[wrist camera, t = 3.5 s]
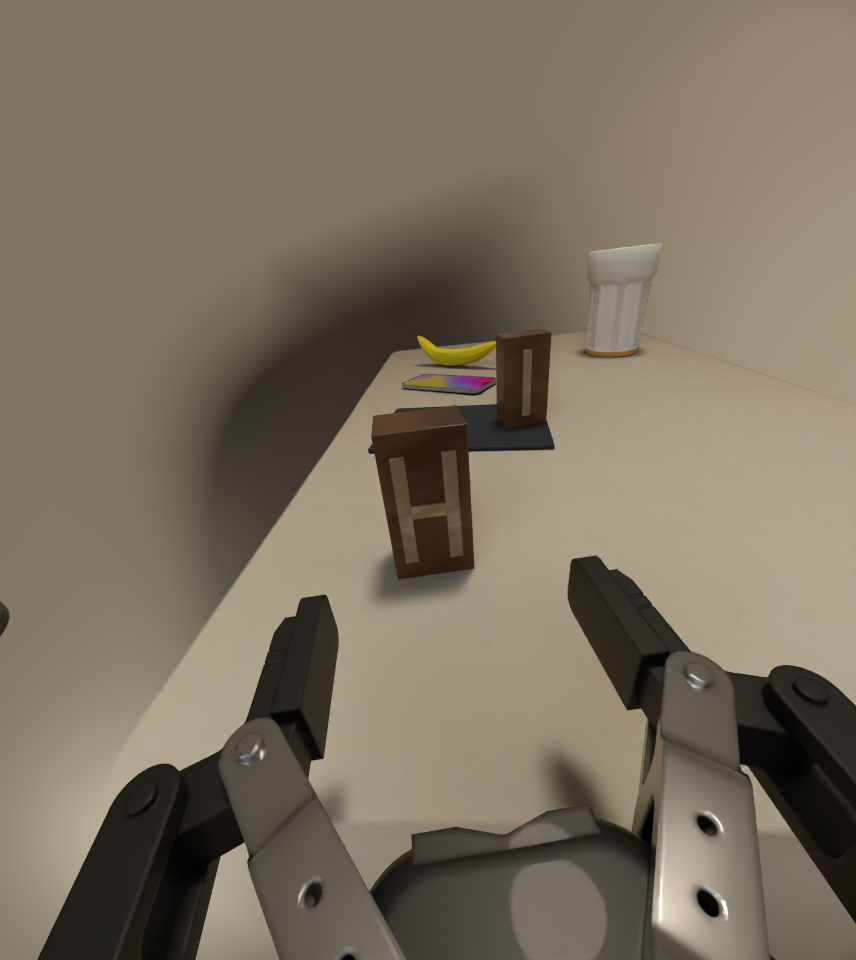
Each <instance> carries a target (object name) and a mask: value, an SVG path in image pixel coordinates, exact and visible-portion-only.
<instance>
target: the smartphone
mask: <svg viewBox="0 0 856 960" xmlns="http://www.w3.org/2000/svg"><path fill="white" fill-rule="evenodd" d="M494 383H496V378H494V377H475V376H456V375H436V374H423V375H420V376H417V377H415V378H413V379H411V380H409V381H406V382H404V383H402V387H403V388H408V389H421V390H433V391H446V392H459V393H472V394H474V393H480V392H482V391H483V390H485V389H486V388H488V387H490V386H491V385H493V384H494Z"/></svg>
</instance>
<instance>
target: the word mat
mask: <svg viewBox="0 0 856 960" xmlns="http://www.w3.org/2000/svg"><path fill="white" fill-rule="evenodd" d="M457 407H458V409H459V410H460V412H461V414H462V416H463V418H464V419H465V421H466V423H467V433H468V451H484V450H532V449H554V447H555V446H554V442H553V439H552V436H551V433H550V430H549V426H548V423H547V420H546V424H539V425H531V426H524V427H516V428H508V429H504V428H503V427H502V426H501V424H500V423H499V422H498V421H497V404H492V405H470V406H457ZM431 408H439V407H424V408H401V409H397V410H396V411H395V412H394V413H399V412H407V411H415V410H423V409H431ZM368 452H369V453H374V448H373V444H372V445H371V447H370V448H369V449H368Z"/></svg>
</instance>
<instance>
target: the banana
mask: <svg viewBox="0 0 856 960" xmlns="http://www.w3.org/2000/svg"><path fill="white" fill-rule="evenodd" d="M415 336H417V338H418V341H419V344H420V346H421V348H422V349H423V351H424V352H425V354H426V355H427V356H428V357H429V358H430V359H431V360H433V361H435V362H436V363H439V364H442V365H445V366H460V365H465V364H469V363H472V362H476V361H478V360H480V359H482V358H484V357H485V356H486V355H488V354H489V353H490V352H491V351H492V350H493V349H494V348H495V347H496V342H494V341H493V342H489V343H485V344H482V345H478V346H475V347H471V348H464V349H440V348H437V347H436V346H434V345H433V344H432V343H431V342H429V341H428V340H427V339H425V338H423V337H421V336H419V335H418V333H416V334H415Z"/></svg>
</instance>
